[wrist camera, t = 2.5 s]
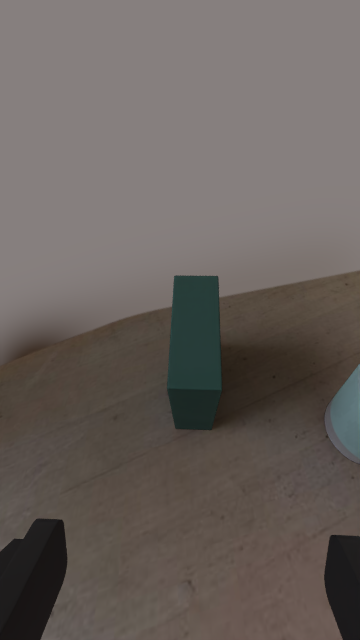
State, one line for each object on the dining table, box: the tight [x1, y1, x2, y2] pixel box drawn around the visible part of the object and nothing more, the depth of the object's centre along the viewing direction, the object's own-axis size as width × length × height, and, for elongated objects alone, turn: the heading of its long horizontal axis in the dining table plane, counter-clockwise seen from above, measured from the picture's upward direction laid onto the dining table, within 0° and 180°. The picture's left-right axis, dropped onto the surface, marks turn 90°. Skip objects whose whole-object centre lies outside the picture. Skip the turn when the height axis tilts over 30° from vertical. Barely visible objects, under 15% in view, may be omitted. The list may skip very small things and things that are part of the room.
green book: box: [167, 276, 222, 430], centre depth 23 cm, size 3×8×10 cm, turn 178°
